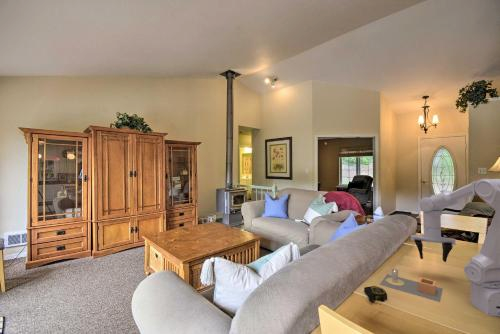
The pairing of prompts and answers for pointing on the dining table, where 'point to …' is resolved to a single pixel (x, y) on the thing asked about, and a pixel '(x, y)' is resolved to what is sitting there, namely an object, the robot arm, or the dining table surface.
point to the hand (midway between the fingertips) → (432, 259)
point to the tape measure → (375, 293)
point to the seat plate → (410, 287)
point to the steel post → (394, 275)
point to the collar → (427, 286)
